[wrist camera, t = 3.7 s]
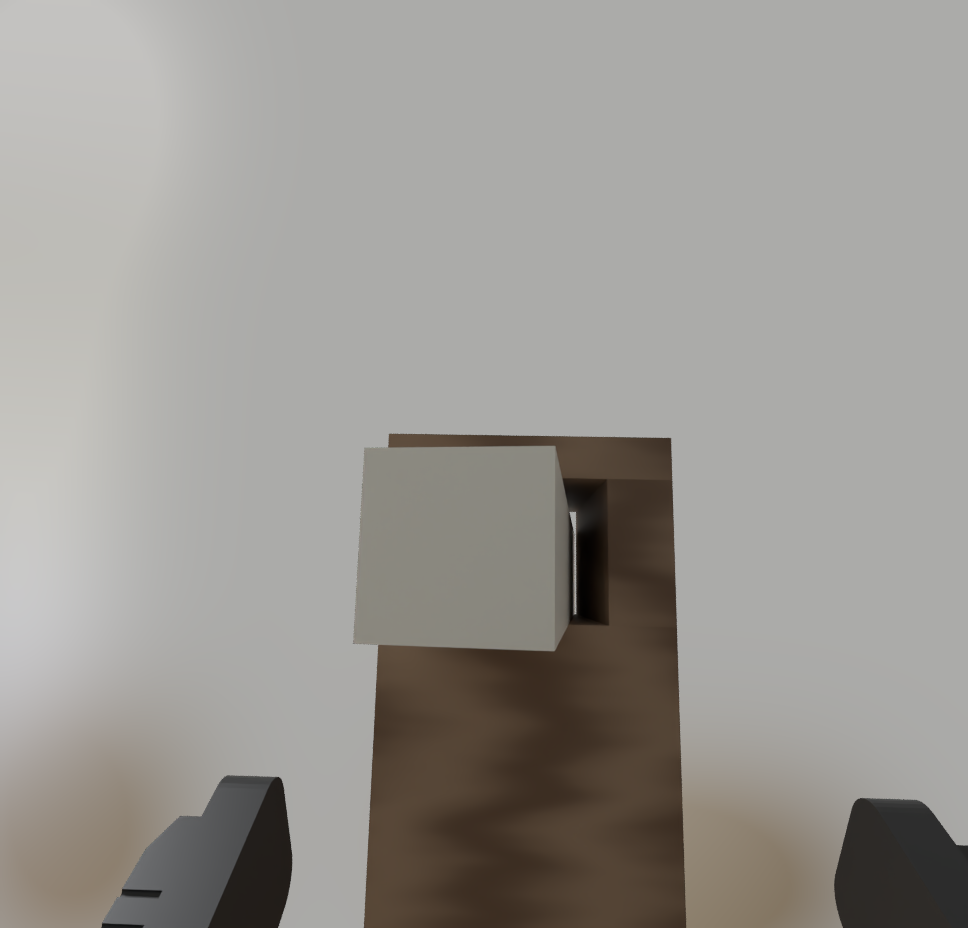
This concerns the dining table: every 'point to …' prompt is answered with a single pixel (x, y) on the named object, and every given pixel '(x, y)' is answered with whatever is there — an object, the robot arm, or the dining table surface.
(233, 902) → the robot arm
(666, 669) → the socket tower
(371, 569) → the plug bar
